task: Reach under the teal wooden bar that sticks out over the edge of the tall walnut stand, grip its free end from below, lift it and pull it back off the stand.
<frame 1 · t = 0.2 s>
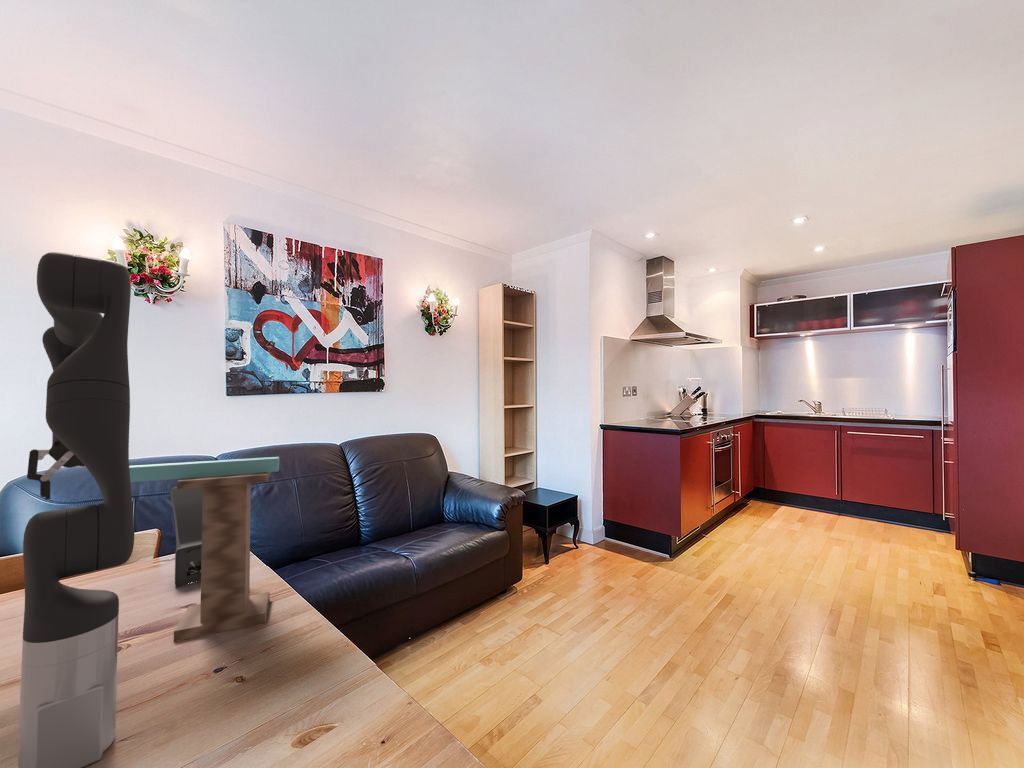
hand: (77, 495, 91), 29 cm above the table, tool pointing down, fingers open, 8 cm apart
walnut stand: (226, 618, 95), on the table
teal bar: (206, 475, 94), point 32 cm above the table, touching walnut stand
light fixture: (193, 574, 121), on the table
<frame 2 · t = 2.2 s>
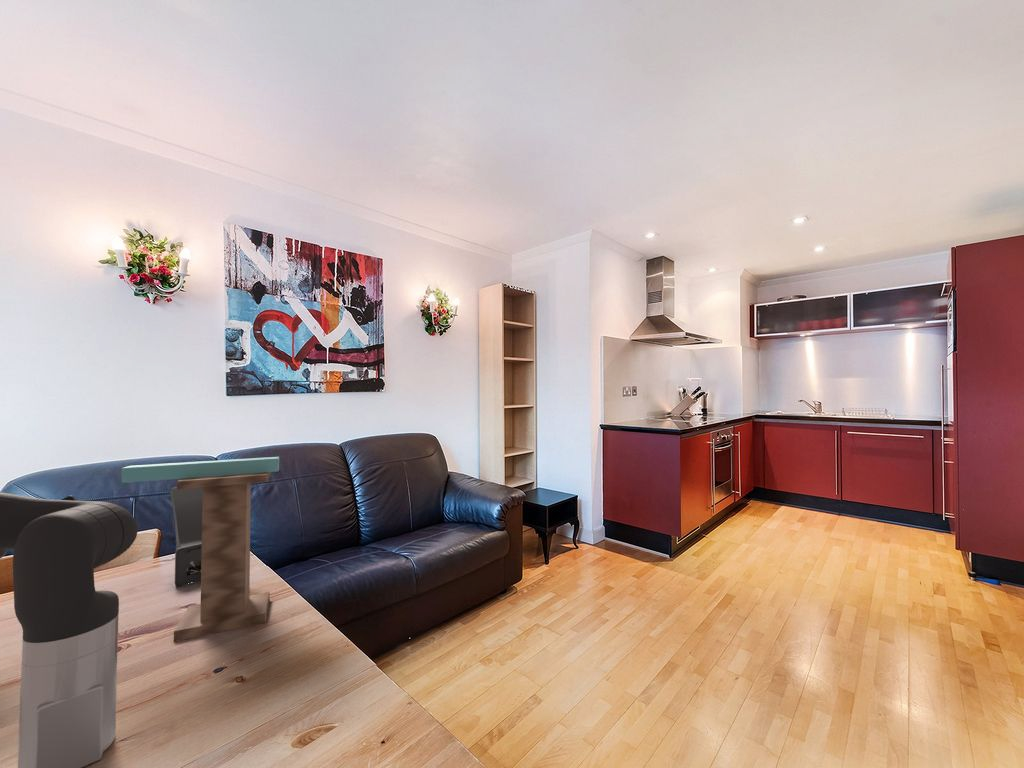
hand: (64, 503, 84), 29 cm above the table, tool pointing upward, fingers open, 8 cm apart
nothing on the table moved.
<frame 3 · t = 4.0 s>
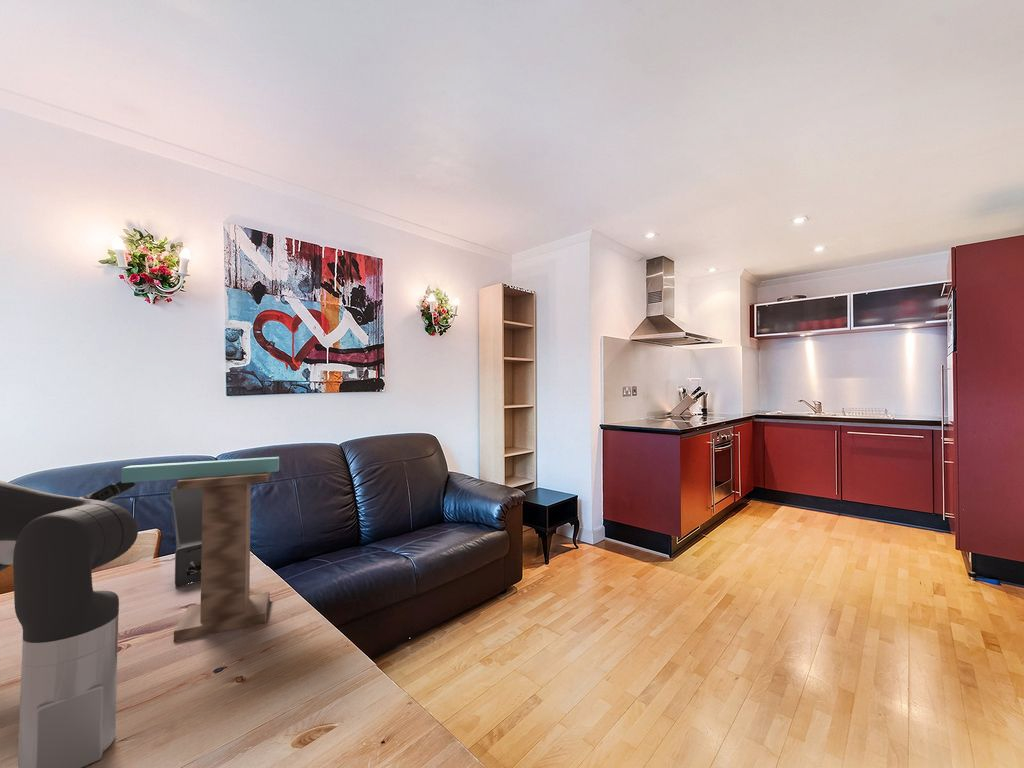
hand: (125, 483, 88), 31 cm above the table, tool pointing upward, fingers open, 8 cm apart
nothing on the table moved.
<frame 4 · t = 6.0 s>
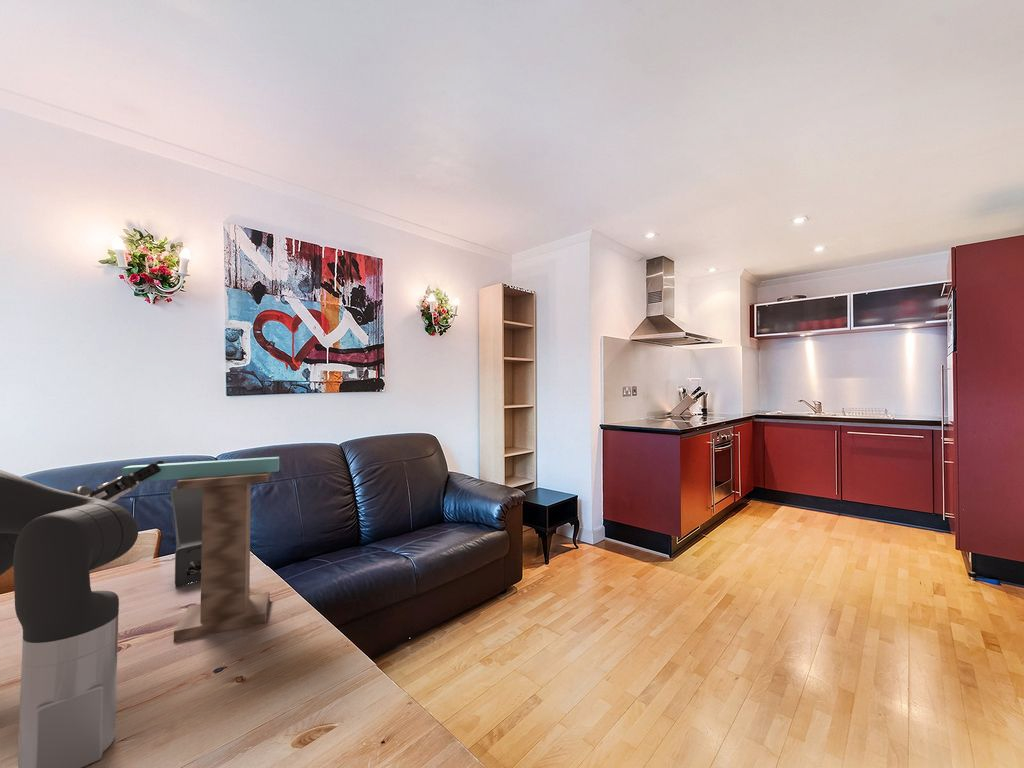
hand: (161, 465, 91), 35 cm above the table, tool pointing upward, fingers closed on teal bar, 4 cm apart
teal bar: (206, 475, 94), point 32 cm above the table, touching gripper, walnut stand
everything else where it was.
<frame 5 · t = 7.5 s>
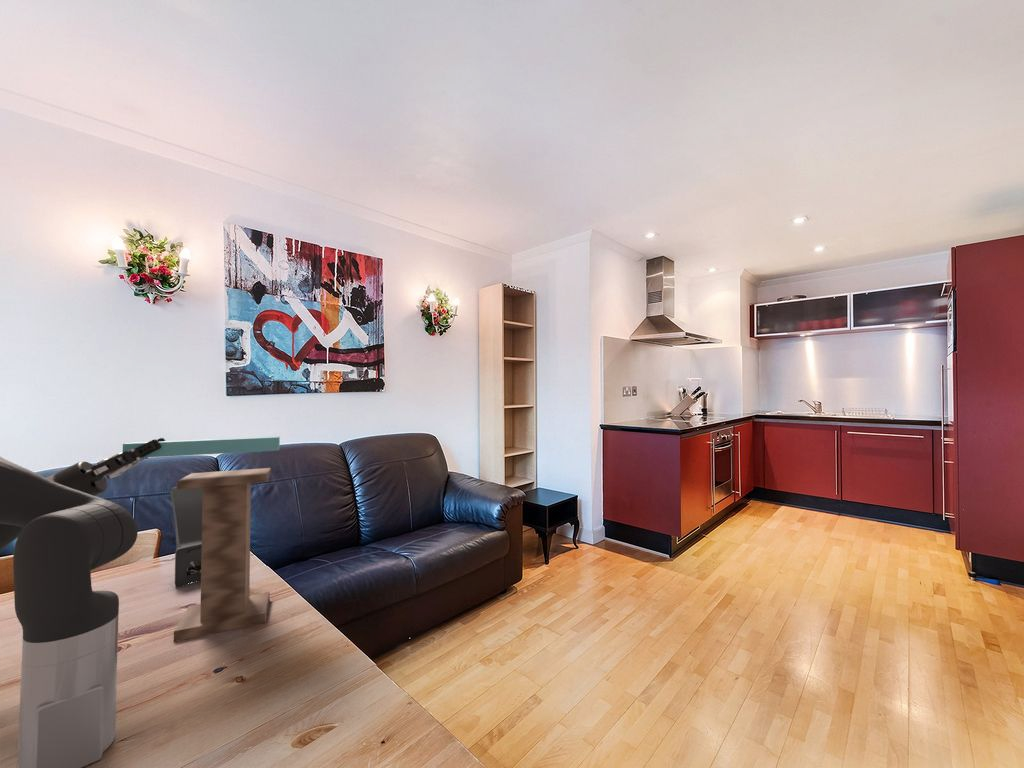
hand: (161, 442, 91), 40 cm above the table, tool pointing upward, fingers closed on teal bar, 4 cm apart
teal bar: (207, 453, 95), point 37 cm above the table, touching gripper
everything else where it was.
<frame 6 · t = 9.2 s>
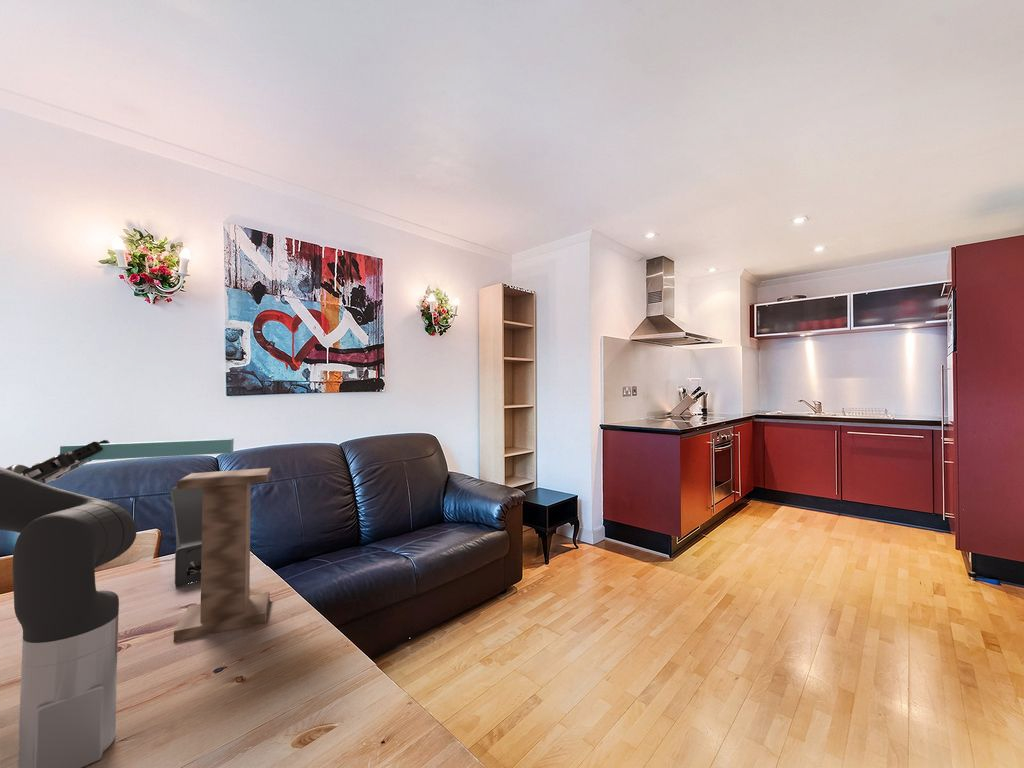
hand: (104, 444, 87), 40 cm above the table, tool pointing upward, fingers closed on teal bar, 4 cm apart
teal bar: (154, 456, 90), point 37 cm above the table, touching gripper
everything else where it was.
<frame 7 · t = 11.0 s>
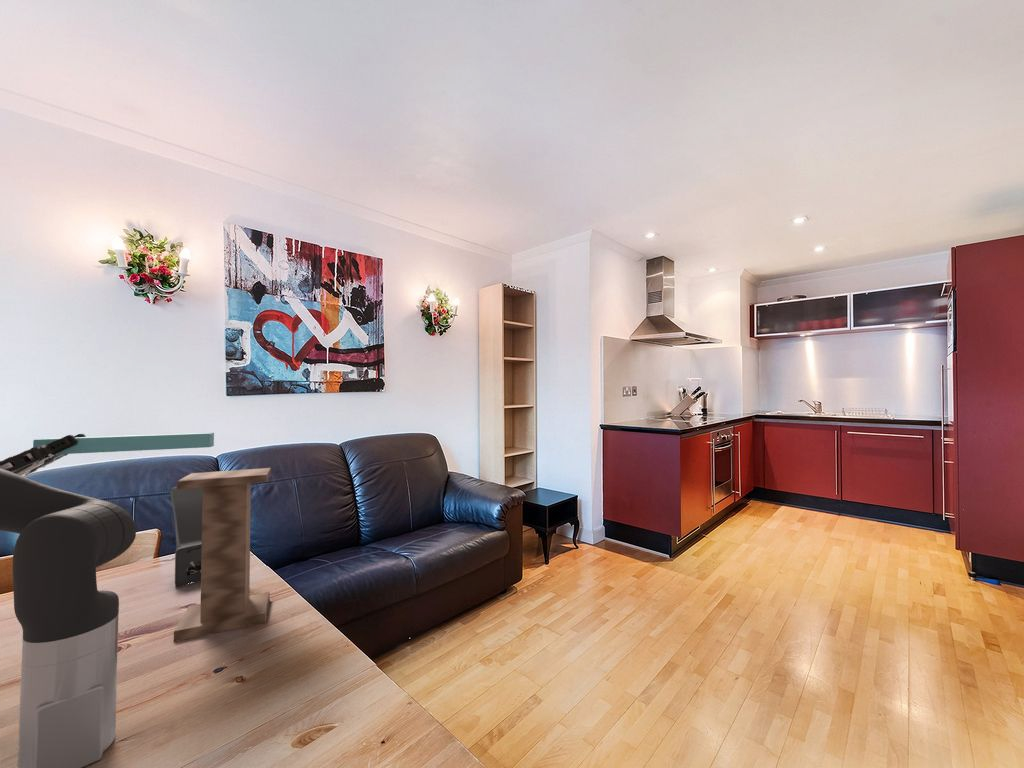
hand: (79, 438, 86), 41 cm above the table, tool pointing upward, fingers closed on teal bar, 4 cm apart
teal bar: (131, 450, 89), point 38 cm above the table, touching gripper
everything else where it was.
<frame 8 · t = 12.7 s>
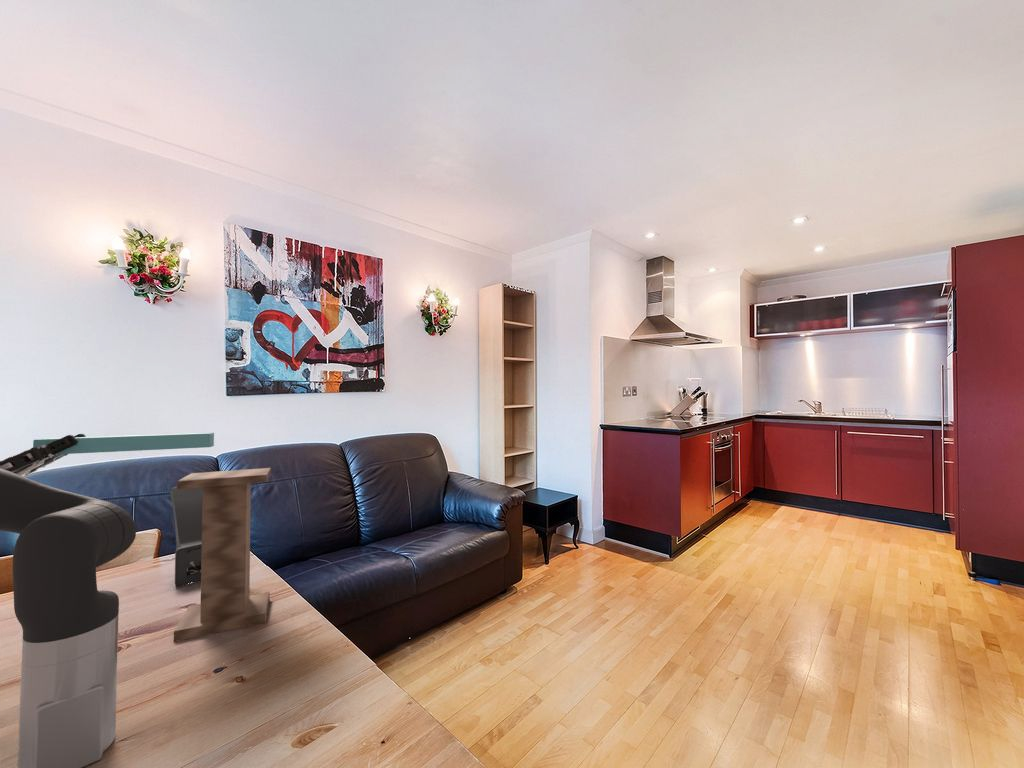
hand: (79, 438, 86), 41 cm above the table, tool pointing upward, fingers closed on teal bar, 4 cm apart
teal bar: (131, 450, 89), point 38 cm above the table, touching gripper
everything else where it was.
at the end: the gripper is holding teal bar; teal bar touching gripper; teal bar moved 14.6 cm from its start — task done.
